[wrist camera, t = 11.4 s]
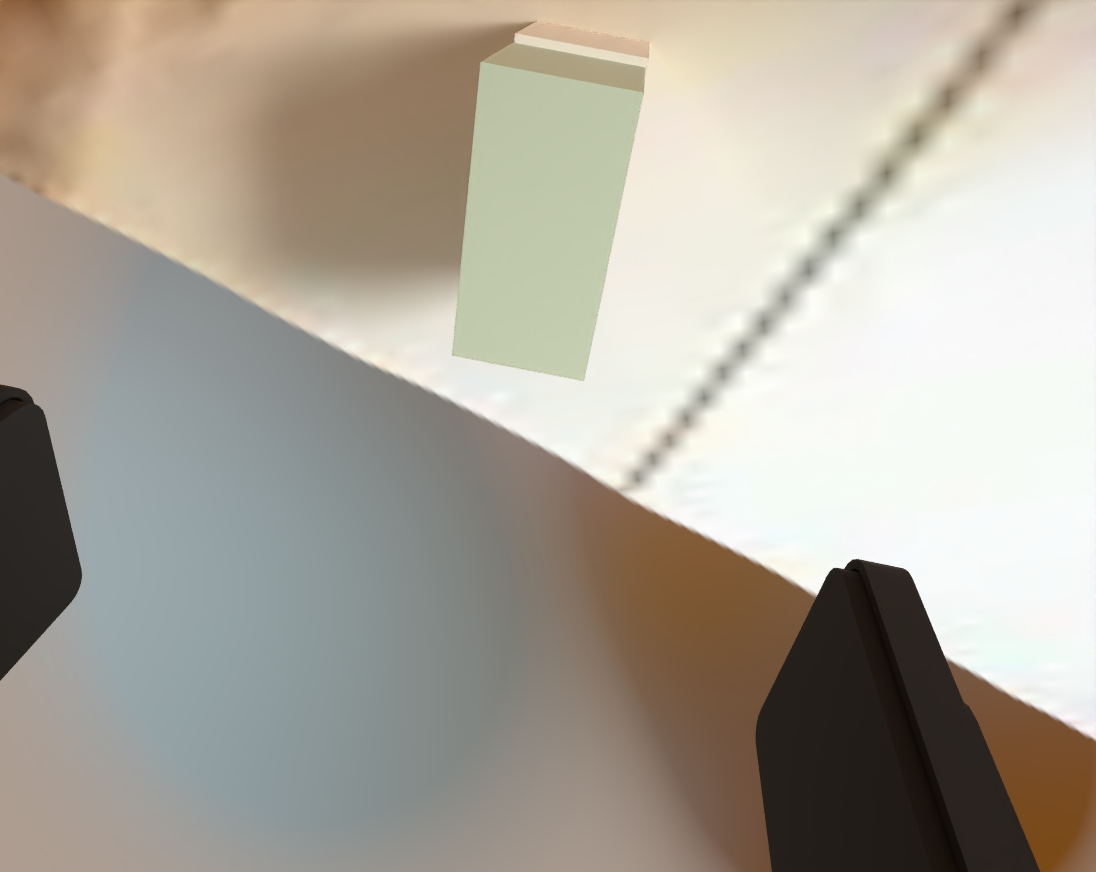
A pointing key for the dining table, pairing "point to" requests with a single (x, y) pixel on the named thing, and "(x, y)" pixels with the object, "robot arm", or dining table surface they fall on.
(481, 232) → the sage brick
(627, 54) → the cream brick
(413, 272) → the dining table surface
